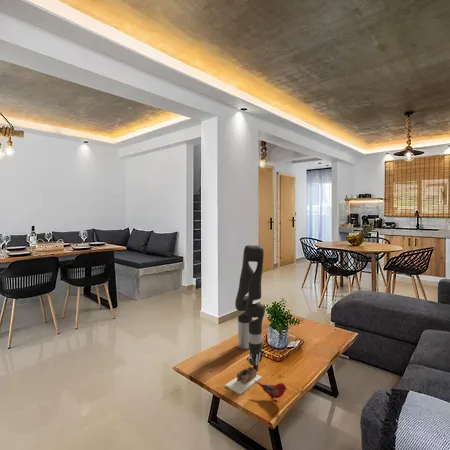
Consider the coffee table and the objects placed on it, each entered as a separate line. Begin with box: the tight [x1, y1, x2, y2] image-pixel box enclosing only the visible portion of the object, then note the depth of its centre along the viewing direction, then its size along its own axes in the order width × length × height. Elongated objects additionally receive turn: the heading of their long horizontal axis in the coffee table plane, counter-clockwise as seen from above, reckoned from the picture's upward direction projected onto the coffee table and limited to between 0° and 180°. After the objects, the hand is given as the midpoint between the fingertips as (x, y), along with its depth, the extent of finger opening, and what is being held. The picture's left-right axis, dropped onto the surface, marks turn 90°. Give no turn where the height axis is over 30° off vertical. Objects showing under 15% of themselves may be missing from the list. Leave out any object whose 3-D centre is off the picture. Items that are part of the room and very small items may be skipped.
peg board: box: [224, 373, 263, 395], centre depth 161 cm, size 18×10×4 cm, turn 137°
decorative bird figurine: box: [255, 381, 288, 402], centre depth 147 cm, size 3×18×10 cm, turn 53°
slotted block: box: [236, 365, 257, 385], centre depth 163 cm, size 10×5×4 cm, turn 137°
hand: (255, 371), depth 168 cm, fingers closed
